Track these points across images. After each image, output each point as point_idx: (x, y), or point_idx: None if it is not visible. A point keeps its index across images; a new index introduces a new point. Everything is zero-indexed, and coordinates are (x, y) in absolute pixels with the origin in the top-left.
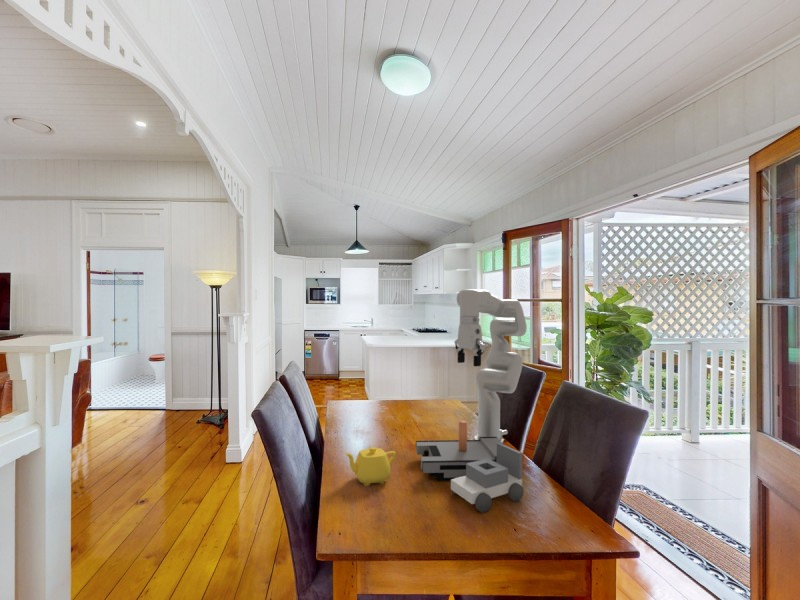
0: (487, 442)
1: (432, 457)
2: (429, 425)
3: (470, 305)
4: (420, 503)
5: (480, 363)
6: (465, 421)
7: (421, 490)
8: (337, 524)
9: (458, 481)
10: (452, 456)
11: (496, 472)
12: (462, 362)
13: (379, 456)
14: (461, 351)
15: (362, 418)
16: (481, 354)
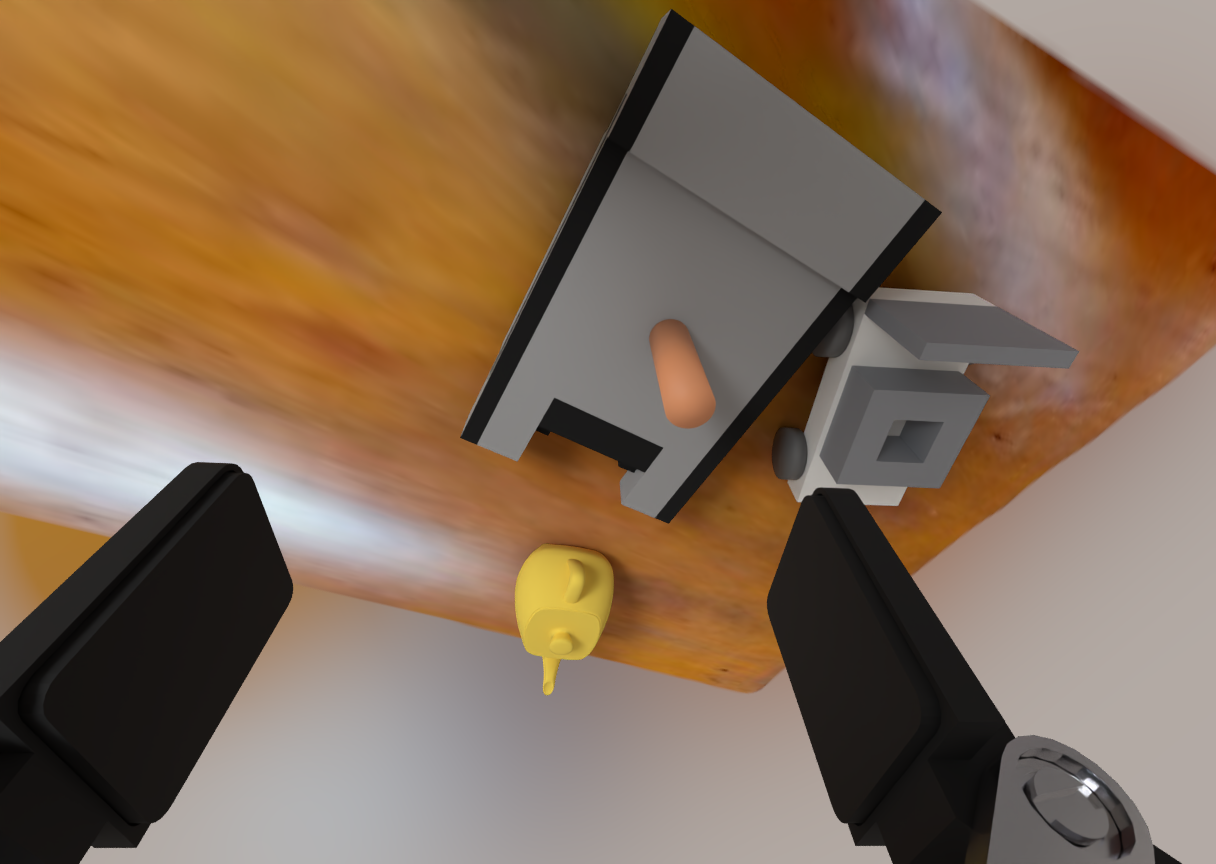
0: (707, 173)
1: (651, 477)
2: None
3: None
4: (745, 536)
5: (867, 529)
6: (690, 387)
7: (695, 503)
8: (697, 666)
9: None
10: None
11: (960, 446)
12: (255, 507)
13: (598, 632)
14: (34, 848)
15: None
16: (1110, 821)
